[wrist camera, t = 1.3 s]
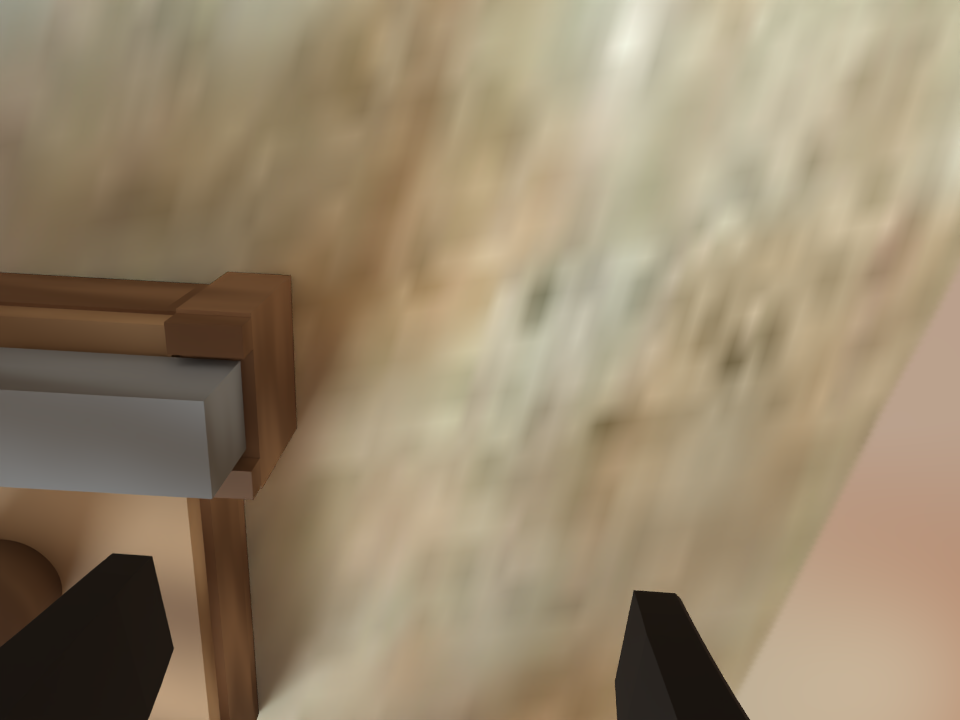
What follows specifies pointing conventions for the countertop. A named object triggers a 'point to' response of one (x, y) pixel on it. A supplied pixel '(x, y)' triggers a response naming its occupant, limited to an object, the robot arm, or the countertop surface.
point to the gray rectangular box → (119, 422)
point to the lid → (107, 522)
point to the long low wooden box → (267, 416)
